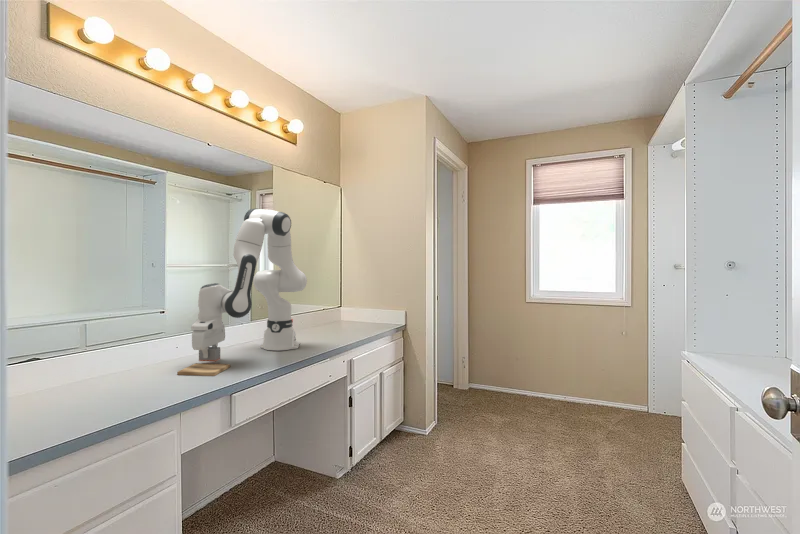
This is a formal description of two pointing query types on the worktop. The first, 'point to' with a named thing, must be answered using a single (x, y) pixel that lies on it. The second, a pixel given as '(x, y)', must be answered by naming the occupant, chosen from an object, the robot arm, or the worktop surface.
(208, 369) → the board
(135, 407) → the worktop surface
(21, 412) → the worktop surface
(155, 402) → the worktop surface
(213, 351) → the sanding block
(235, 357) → the worktop surface
